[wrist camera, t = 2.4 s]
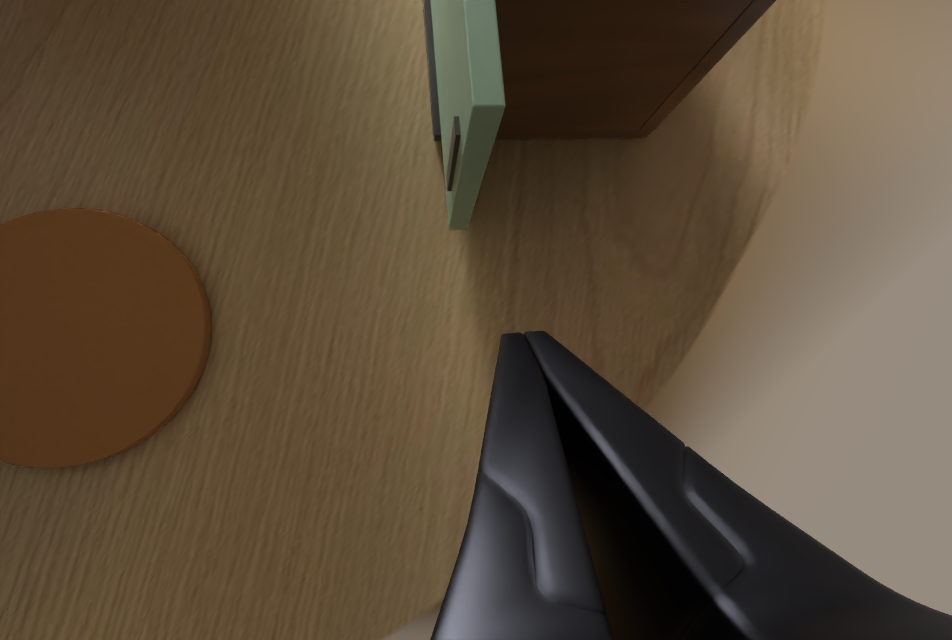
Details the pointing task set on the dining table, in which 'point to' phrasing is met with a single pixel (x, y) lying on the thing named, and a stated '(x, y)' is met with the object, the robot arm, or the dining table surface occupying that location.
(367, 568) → the dining table surface
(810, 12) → the dining table surface
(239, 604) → the dining table surface
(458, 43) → the sliding door
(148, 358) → the coaster
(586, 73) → the cabinet
